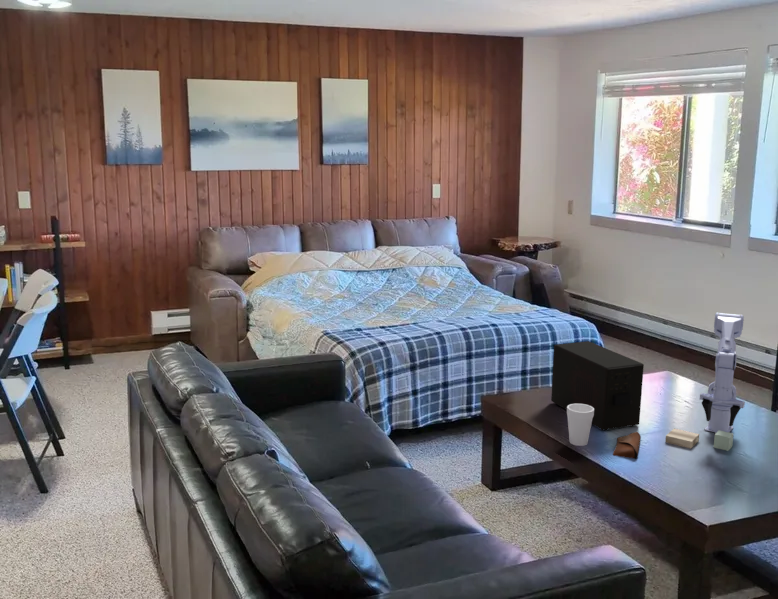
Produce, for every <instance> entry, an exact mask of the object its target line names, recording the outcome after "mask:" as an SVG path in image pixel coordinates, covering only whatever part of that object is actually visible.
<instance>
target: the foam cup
mask: <svg viewBox="0 0 778 599" xmlns="http://www.w3.org/2000/svg"><path fill="white" fill-rule="evenodd" d="M566 415H567V426H568V427H567V428H568V438H569V439H568V440H569V443H570V444H571V445H573V446H577V447H579V446H580V447H583V446H587V445H588V443H589V438H590V433H591V427H592V419H593V417H594V408H593V407H592V406H589V405H586V404H570V405H568V406H567V410H566Z"/></svg>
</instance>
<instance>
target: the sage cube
mask: <svg viewBox="0 0 778 599" xmlns="http://www.w3.org/2000/svg"><path fill="white" fill-rule="evenodd" d="M713 440H714V441H713V448H714V449H718V450H723V451H727V452H729V451H730V450H731V449H732V447H733V444H734V442H733V441H734V433H733V432H725V431H720V430H719V431H718V432H717V433H715V434H714V438H713Z"/></svg>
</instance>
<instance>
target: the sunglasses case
mask: <svg viewBox="0 0 778 599" xmlns="http://www.w3.org/2000/svg"><path fill="white" fill-rule="evenodd" d="M641 438H642V436H641V434H640V433H639V431H634V432H631V433H630V434H627V435H623V436H619V437H617V438H616V444H615V448H614V450H613V452H612V456H614V457H623V458H627V459H635V460H636V459H638V457H639V452H640V451H639V450H640V445H641Z"/></svg>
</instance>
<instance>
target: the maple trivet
mask: <svg viewBox="0 0 778 599" xmlns="http://www.w3.org/2000/svg"><path fill="white" fill-rule="evenodd" d="M664 441H665V443H666V444H671V445H675V446H679V447H683V448H687V449H692V448H693V447H694V446H696V444H697V443H698V442H699V441H700V433H697V432H691V431H687V430H685V429H678V428H673V429H672V430H671V431H669V432H668V433H667V434H666V435H665V440H664Z"/></svg>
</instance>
